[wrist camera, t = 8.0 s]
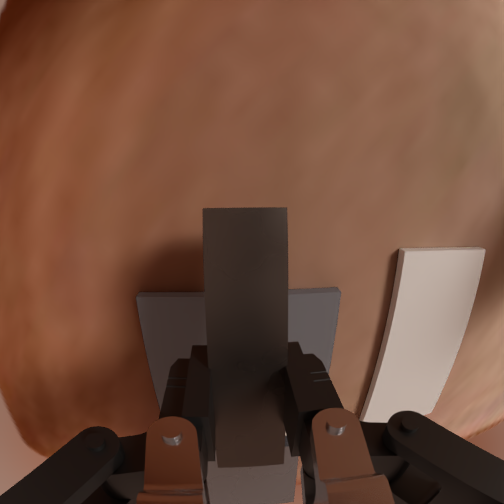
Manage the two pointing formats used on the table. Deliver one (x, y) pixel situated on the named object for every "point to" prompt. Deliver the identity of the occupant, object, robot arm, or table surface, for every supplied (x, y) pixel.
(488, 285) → the table surface
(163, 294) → the mat
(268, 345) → the grey post on base
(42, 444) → the table surface
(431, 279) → the rest pad
